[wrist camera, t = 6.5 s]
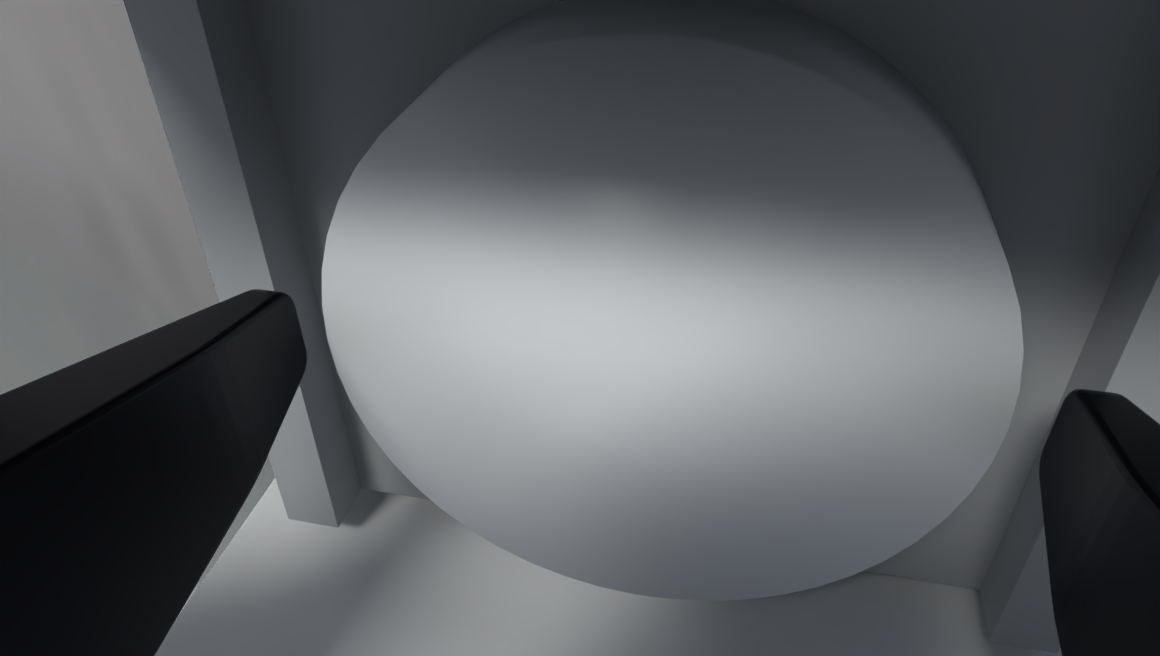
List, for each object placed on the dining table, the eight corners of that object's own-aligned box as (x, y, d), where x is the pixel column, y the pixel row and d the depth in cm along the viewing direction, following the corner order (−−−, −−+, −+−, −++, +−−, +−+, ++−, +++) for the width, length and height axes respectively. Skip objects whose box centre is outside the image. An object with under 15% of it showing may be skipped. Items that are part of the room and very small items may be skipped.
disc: (912, 541, 11) (924, 645, 10) (420, 464, 13) (376, 548, 11) (1091, -1, 7) (1151, 60, 6) (333, -34, 8) (249, 11, 7)
